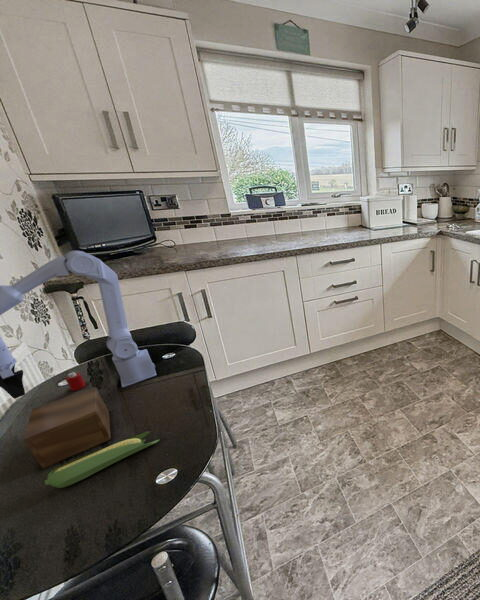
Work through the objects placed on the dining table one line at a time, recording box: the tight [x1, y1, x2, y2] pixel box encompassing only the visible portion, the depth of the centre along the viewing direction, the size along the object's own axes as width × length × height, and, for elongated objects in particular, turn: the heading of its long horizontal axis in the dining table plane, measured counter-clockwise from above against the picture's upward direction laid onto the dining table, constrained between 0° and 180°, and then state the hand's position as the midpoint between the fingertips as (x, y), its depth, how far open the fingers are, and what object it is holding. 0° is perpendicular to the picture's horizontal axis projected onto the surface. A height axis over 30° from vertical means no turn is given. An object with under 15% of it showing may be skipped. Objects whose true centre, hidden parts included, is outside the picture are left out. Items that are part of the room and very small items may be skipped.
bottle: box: [64, 371, 86, 392], centre depth 108 cm, size 4×4×6 cm
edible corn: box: [44, 430, 161, 489], centre depth 76 cm, size 5×20×5 cm, turn 130°
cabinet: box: [23, 386, 112, 469], centre depth 84 cm, size 15×13×9 cm
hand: (16, 392), depth 90 cm, fingers open, 7 cm apart
